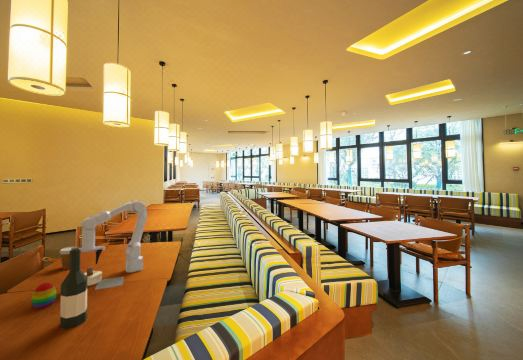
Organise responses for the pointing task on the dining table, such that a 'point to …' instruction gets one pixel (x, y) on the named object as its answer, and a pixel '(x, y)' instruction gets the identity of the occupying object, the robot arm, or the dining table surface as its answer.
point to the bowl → (94, 281)
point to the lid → (92, 274)
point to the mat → (110, 283)
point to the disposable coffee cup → (65, 257)
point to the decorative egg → (43, 295)
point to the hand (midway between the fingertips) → (88, 264)
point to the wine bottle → (73, 294)
